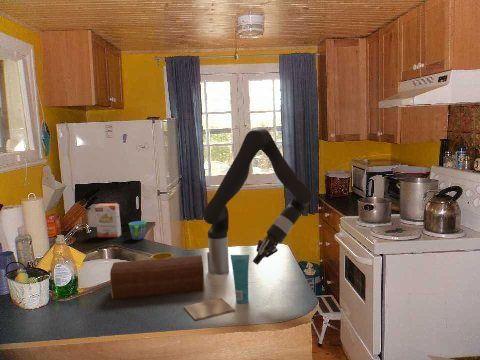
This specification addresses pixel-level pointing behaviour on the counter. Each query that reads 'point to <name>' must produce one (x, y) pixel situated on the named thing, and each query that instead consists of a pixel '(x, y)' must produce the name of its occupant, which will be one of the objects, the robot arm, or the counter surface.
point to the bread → (157, 277)
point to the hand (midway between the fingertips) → (255, 263)
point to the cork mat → (208, 308)
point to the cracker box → (108, 220)
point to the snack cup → (137, 229)
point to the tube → (240, 277)
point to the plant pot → (162, 256)
